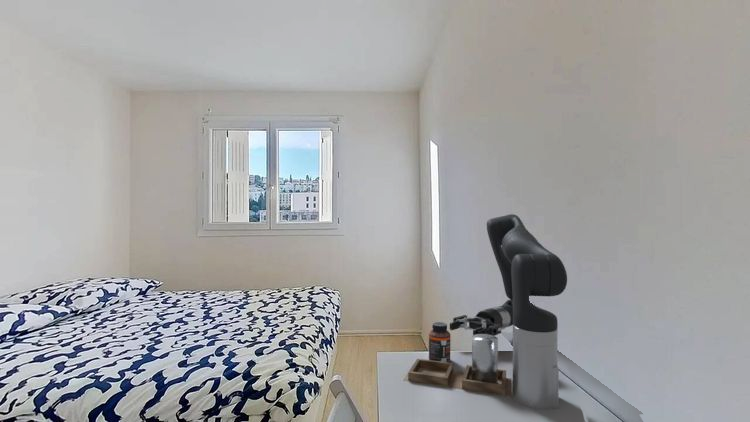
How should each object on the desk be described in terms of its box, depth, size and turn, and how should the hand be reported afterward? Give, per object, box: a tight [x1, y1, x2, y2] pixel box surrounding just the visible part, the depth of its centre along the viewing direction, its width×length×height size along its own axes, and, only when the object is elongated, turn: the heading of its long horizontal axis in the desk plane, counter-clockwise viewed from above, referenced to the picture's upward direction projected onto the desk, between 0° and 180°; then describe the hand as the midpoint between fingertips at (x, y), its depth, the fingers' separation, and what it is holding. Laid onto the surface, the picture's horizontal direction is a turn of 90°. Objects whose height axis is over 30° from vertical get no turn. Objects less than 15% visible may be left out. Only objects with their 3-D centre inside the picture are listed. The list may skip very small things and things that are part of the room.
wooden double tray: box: [403, 358, 512, 398], centre depth 97 cm, size 25×10×3 cm, turn 70°
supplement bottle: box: [428, 321, 452, 363], centre depth 110 cm, size 6×6×11 cm
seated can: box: [471, 334, 499, 384], centre depth 95 cm, size 6×6×11 cm
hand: (462, 330), depth 117 cm, fingers open, 8 cm apart
